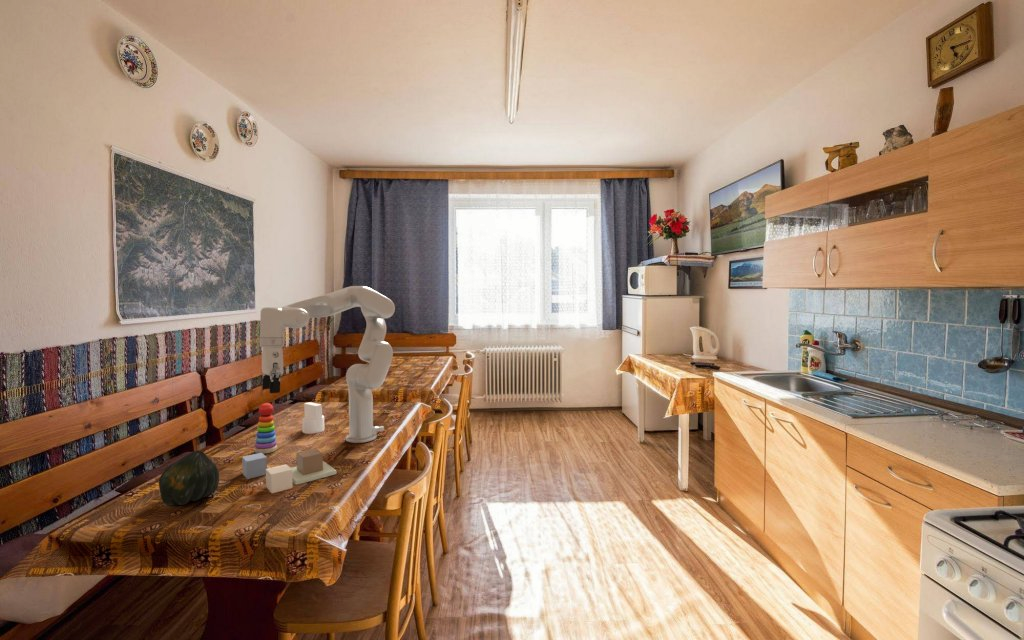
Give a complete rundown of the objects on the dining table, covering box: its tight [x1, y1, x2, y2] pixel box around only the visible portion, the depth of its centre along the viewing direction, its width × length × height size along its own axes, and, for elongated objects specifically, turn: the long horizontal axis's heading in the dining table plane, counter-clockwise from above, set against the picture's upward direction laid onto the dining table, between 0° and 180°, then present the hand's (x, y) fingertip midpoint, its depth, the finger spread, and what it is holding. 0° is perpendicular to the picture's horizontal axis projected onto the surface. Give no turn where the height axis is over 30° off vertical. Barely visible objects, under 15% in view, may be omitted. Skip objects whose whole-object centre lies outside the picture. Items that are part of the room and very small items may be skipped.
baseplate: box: [290, 447, 337, 486], centre depth 154 cm, size 13×13×7 cm
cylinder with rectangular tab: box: [301, 401, 325, 435], centre depth 202 cm, size 9×9×12 cm
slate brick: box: [241, 453, 268, 480], centre depth 154 cm, size 6×6×6 cm
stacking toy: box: [253, 402, 278, 455], centre depth 175 cm, size 8×8×19 cm
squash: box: [158, 449, 220, 507], centre depth 135 cm, size 14×15×15 cm
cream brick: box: [265, 463, 294, 494], centre depth 143 cm, size 6×6×6 cm
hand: (270, 390), depth 160 cm, fingers open, 9 cm apart
